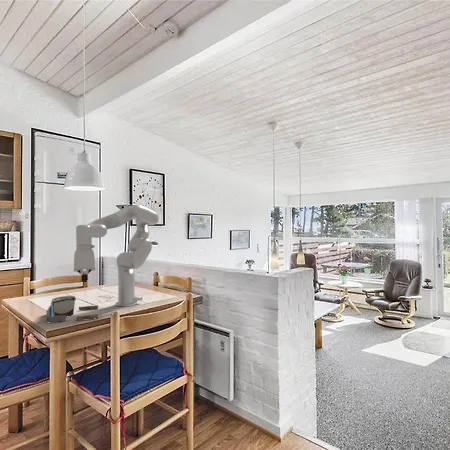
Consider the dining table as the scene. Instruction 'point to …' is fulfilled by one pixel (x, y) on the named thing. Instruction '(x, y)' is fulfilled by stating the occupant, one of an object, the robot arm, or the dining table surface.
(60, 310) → the food container
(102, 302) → the dining table surface
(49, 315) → the slate stop bracket
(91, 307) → the walnut sleeve
